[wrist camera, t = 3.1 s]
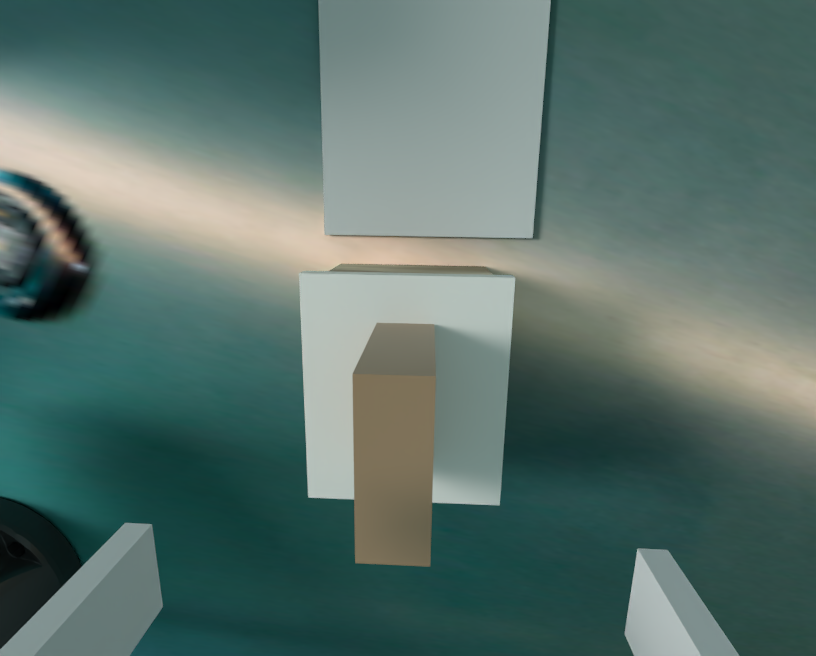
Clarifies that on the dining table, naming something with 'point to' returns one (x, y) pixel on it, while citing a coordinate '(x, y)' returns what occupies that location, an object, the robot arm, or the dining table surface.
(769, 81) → the dining table surface
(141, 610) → the robot arm
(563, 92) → the dining table surface
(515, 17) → the tray
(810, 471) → the dining table surface
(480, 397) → the lid
